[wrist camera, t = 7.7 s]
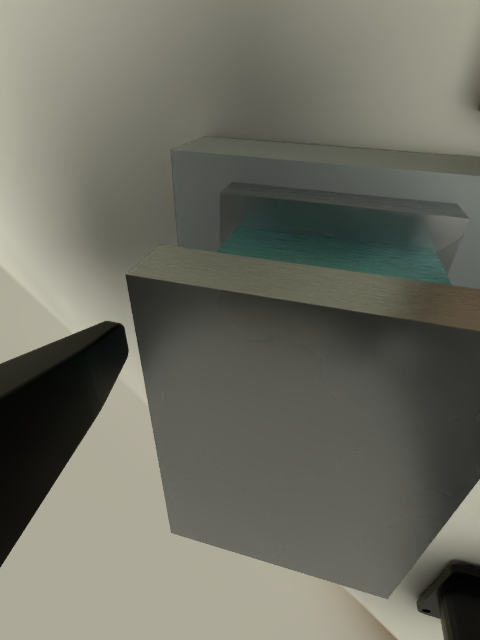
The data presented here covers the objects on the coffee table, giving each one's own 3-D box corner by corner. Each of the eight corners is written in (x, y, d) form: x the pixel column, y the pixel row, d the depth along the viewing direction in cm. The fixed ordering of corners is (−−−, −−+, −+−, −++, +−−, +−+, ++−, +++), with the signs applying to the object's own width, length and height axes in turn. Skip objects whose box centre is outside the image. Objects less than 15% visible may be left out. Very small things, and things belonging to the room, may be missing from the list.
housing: (456, 204, 7) (581, 348, 3) (374, 418, 11) (387, 598, 7) (232, 181, 8) (125, 274, 4) (228, 387, 12) (171, 532, 8)
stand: (407, 383, 13) (417, 436, 11) (209, 345, 15) (188, 386, 13) (504, 159, 9) (550, 182, 7) (205, 136, 10) (170, 150, 8)
